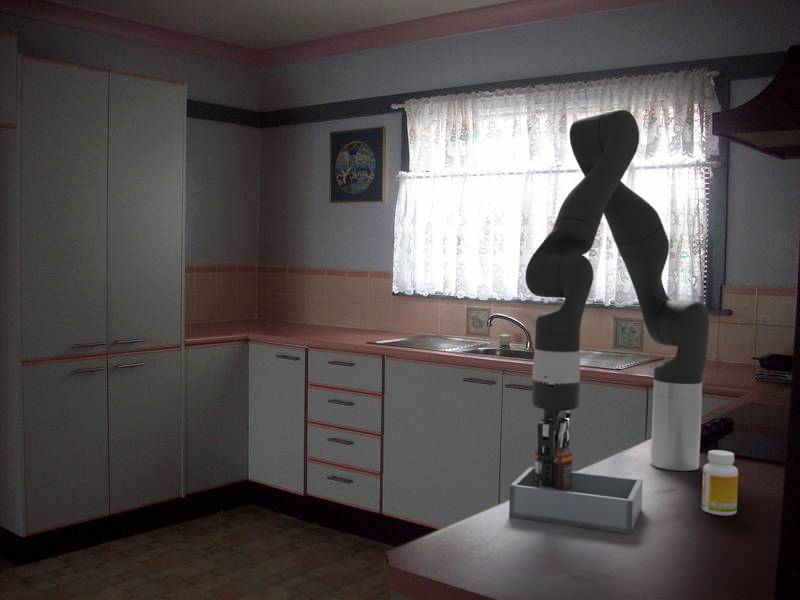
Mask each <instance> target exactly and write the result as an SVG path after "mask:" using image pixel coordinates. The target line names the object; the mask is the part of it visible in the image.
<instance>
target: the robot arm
mask: <svg viewBox="0 0 800 600" xmlns="http://www.w3.org/2000/svg"><path fill="white" fill-rule="evenodd" d="M569 142H570V147H571V149H572V154H573V156H574V158H575V161H576V163H577V164H578V167H579V168H580V171H581V172H582V174H583V176H584V177H583V179H581V180H580V181H579V183H578V184H576V185H575V187H574V188H572V189H571V191H570V192H568V193H569V194H568V195H567V196H566V197H565V199H564V201H563V202H562V204H561V205H560V209H559V210H558V214H557V216H556V219H555V222H554V224H553V227H552V230H551V231H550V232H549V234H548V235H547V236H546V238H545V239H544V240H543V241H542V243H541V244H540V245H539V246H538V248H537V249H536V250H535V252H533V254H532V256H531V257H530V258H529V261H528V263H527V266H526V270H525V275H524V276H525V285H526V287H527V289H528V290H529V292H530V293H532V295H534V296H535V297H536V296H537V297H541V298H557V299H558V298H559V299H560V298H561V299H564V302H563V303H562V305H561V307H560V309H559V310H555V311H549V312H544V313H541V314H539V315H538V316H537V317H536V320H535V334H534V336H535V341H534V355H533V356H534V357H533V360H532V361H533V362H532V381H531V382H532V384H531V386H532V387H531V388H532V391H531V404H532V406H533V407H535V408H538V409H542V410H543V418H541V419H540V422H539V423H538V424H537V447H538V456H537V458H538V460H540V461H541V462H542V475H541V484H542V485H543V486H549V487H554V486H555V485H556V468H557V460H558V458H557V456H558V451H559V450H560V449H561V448H562V442H563V434H565V435H566V446H567V447H568V448H569V446H570V434H571V433H570V430H571V429H570V428H571V417H572V414H571V411H573V410H577V409H578V408H580V407H579V406H580V395H581V393H580V390H581V389H580V388H581V387H580V386H581V385H580V384H581V358H580V340H581V339H580V337H581V335H580V334H581V325H582V324H581V323H582V319H583V315H584V312H585V307H586V304H587V301H588V298H589V295H590V292H591V289H592V285H593V282H594V269H593V265H592V263H591V261H590V260H589V259H588V257H586V256H585V255H586V254H587V253H588V252H590V251H591V249H592V247H593V245H594V242H595V239H596V237H597V235H598V234H597V233H598V230H599V227H600V223H601V221H602V218H603V216H604V217H605V220H606V223H607V225H608V228H609V230H610V233H611V235H612V238H613V241H614V242H615V245H616V248H617V250H618V252H619V255H620V257H621V259H622V261H623V263H624V266H625V268H626V270H627V273H628V275H629V278H630V281H631V283H632V285H633V288H634V291H635V294H636V298H637V301H638V304H639V308H640V311H641V314H642V318H643V321H644V325H645V327H646V330H647V332H648V334H649V336H650V338H651V339H652V340H653V342H655V343H657V344H659V345H663V346H669V347H677V348H676V354H675V356H674V357H673V358H672V359H671V360H668V361H666V362H661V363H659V364H656V365H655V366H654V368H653V369H654V370H653V391H652V394H653V395H652V397H653V398H652V419H651V420H652V422H651V441H650V442H651V444H650V465H652V466H653V467H656V468H659V469H664V470H670V471H679V472H681V471H682V472H689V471H691V472H692V471H696V470H698V469H699V467H700V451H701V450H700V449H701V430H702V429H701V424H702V400H703V397H702V395H703V376H704V372H705V368H706V365H707V364H706V363H707V356H708V355H707V354H708V344H709V342H708V341H709V335H710V334H709V333H710V317H709V313H708V310H707V308H706V306H705V304H703V303H701V302H699V301H693V300H679V299H678V300H677V299H671V298H670V297H668V295H667V293H666V290H665V287H664V284H663V280H662V278H663V277H662V276H663V272H664V269H665V266H666V262H667V261H668V255H669V252H670V241H669V239H668V235H667V232H666V231H665V227H664V225H663V222H662V220H661V217H660V215H659V213H658V212H657V210H656V209H655V208H654V207H653V206H652V205H651V204H650V203H649V202H647V201H646V199H644V198H643V197H641V196H640V195H639V194H637V192H635V191H634V190H632V189H631V188H629V187H628V186H627V184H625V183H623V181H622V179H623V177H624V176H625V174H626V172H627V170H628V168H629V167H630V164H631V163H632V161H633V159H634V157H635V155H636V153H637V150H638V147H639V143H640V129H639V126H638V122H637V119H636V118H635V116H634V115H633V113H631V112H630V111H629V110H627V109H623V108H619V109H612V110H607V111H604V112H600V113H596V114H595V113H594V114H592V115H588V116H584V117H581V118H578V119H576V120H575V121H573V122H572V123H571V125H570V129H569ZM555 441H557V442H556V443H555ZM547 448H549V449H550V454H549V453H546V449H547Z"/></svg>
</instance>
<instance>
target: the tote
mask: <svg viewBox="0 0 800 600" xmlns="http://www.w3.org/2000/svg"><path fill="white" fill-rule="evenodd" d="M643 481H644V480H643V479H639V478H631V477H623V476H617V475H615V476H614V475H607V474H599V473H598V474H597V473H590V472H581V471H573V470H572V492H569V491H561V490H553V489H545V488H537V487H535V466H529V467H528V468H527V469H526V470H525V471H524V472H523V473H522V474H520V475H519V476H518V478H516V479H515V480H514V481H513V482H512V483H511V484H510V485H509V504H508V505H509V511H508V517H509V518H515V519H522V520H528V521H529V520H530V521H535V522H541V523H542V522H543V523H549V524H550V523H551V524H556V525H563V526H564V525H565V526H570V527H576V528H577V527H579V528H584V529H590V530H591V529H592V530H597V531H598V530H599V531H604V532H611V533H619V534H626V535H632V534H633V531H634V528H635V526H636V524H637V521H638V519H639V517H640V515H641V512H642V509H643V508H642V507H643V506H642V503H643Z"/></svg>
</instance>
